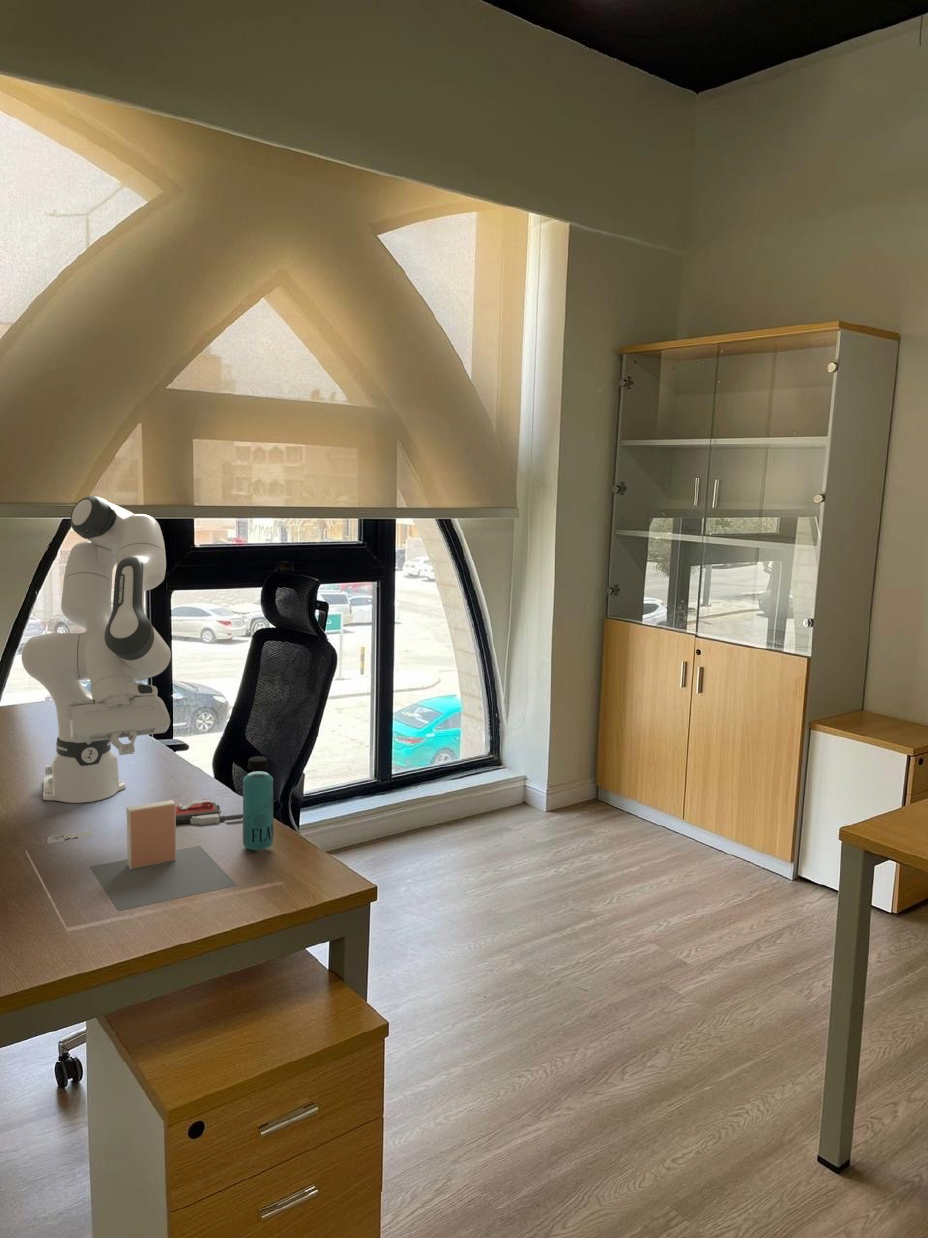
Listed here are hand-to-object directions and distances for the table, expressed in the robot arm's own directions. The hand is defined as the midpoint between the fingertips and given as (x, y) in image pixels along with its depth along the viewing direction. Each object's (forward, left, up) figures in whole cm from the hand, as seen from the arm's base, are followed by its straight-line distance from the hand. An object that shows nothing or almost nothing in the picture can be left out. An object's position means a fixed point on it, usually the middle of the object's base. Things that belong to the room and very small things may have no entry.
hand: (127, 753), depth 205 cm
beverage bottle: (+20, +21, -19) cm, 35 cm away
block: (+17, 0, -18) cm, 25 cm away
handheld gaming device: (0, -12, -19) cm, 22 cm away
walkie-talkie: (-2, +18, -19) cm, 26 cm away
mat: (+24, 0, -18) cm, 30 cm away
